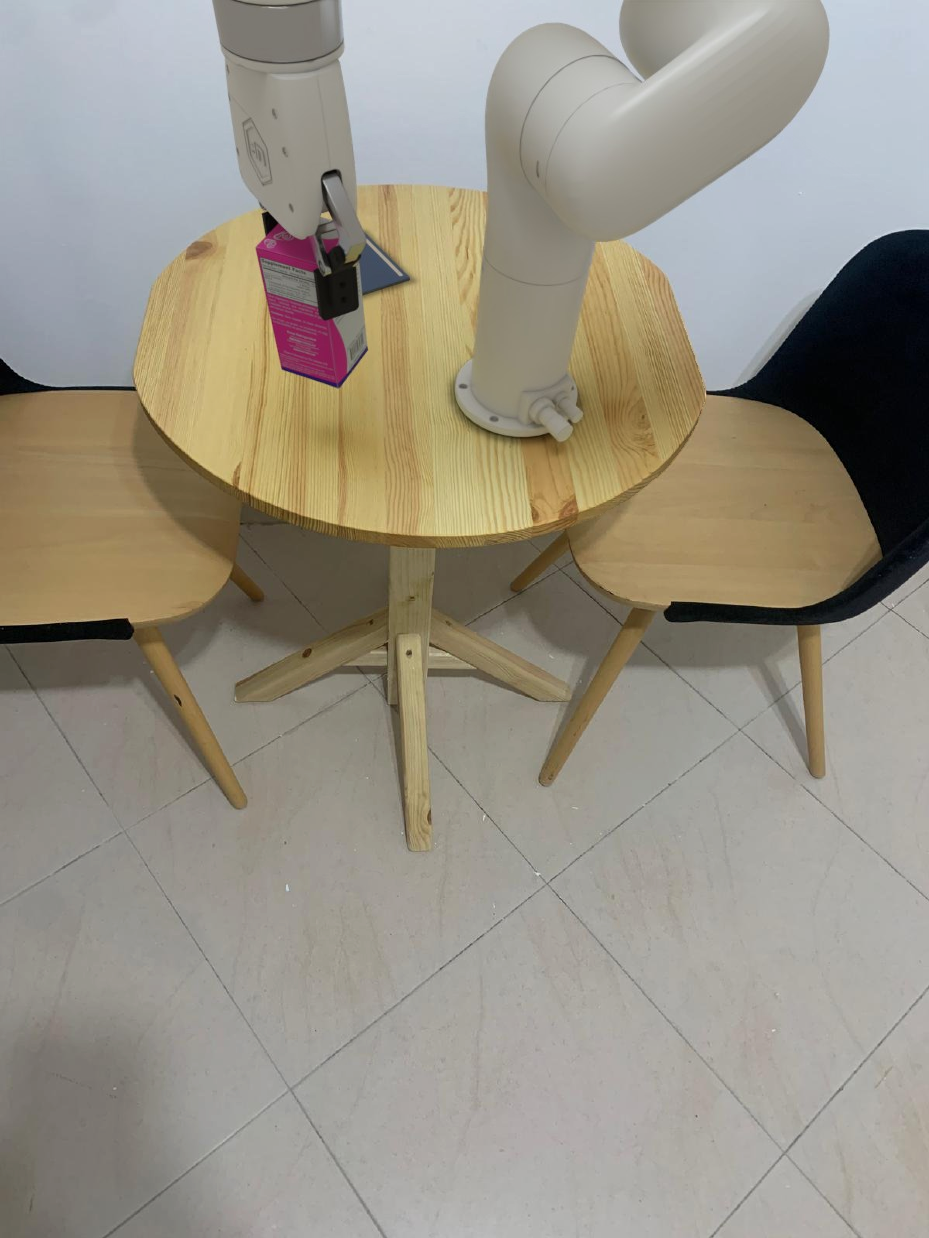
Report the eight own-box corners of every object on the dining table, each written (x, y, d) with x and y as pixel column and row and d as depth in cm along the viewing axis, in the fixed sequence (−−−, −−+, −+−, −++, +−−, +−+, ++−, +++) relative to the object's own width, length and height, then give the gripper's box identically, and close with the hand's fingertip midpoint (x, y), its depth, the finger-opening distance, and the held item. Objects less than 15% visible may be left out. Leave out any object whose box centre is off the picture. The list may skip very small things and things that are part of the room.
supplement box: (310, 332, 69) (292, 205, 60) (369, 350, 68) (361, 225, 59) (277, 370, 66) (253, 244, 57) (339, 391, 65) (324, 265, 56)
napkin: (409, 279, 90) (409, 277, 90) (333, 304, 86) (333, 301, 86) (363, 232, 95) (362, 230, 94) (288, 254, 91) (288, 251, 91)
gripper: (163, -22, 49) (223, 243, 64) (289, 92, 41) (323, 363, 56) (272, -40, 51) (305, 219, 66) (408, 64, 44) (411, 330, 59)
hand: (313, 283), depth 61 cm, fingers closed on supplement box, 7 cm apart
